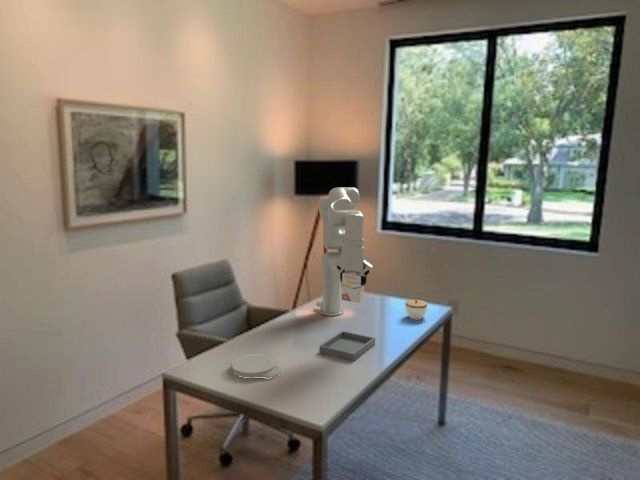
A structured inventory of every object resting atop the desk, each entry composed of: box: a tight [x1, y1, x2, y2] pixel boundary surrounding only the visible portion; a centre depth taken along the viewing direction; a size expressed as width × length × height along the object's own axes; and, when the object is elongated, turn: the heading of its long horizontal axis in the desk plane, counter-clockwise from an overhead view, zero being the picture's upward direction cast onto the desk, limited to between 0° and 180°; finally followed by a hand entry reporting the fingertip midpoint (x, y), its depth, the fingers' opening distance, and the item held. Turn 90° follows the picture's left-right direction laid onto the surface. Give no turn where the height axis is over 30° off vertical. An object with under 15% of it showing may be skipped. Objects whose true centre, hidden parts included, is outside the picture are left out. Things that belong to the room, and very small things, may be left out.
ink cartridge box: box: [341, 270, 365, 304], centre depth 203 cm, size 9×5×15 cm, turn 64°
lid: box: [230, 353, 282, 378], centre depth 184 cm, size 17×20×3 cm
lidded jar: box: [404, 299, 428, 321], centre depth 242 cm, size 11×11×9 cm
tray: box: [318, 330, 376, 362], centre depth 204 cm, size 16×20×3 cm
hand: (353, 283), depth 203 cm, fingers closed on ink cartridge box, 9 cm apart
